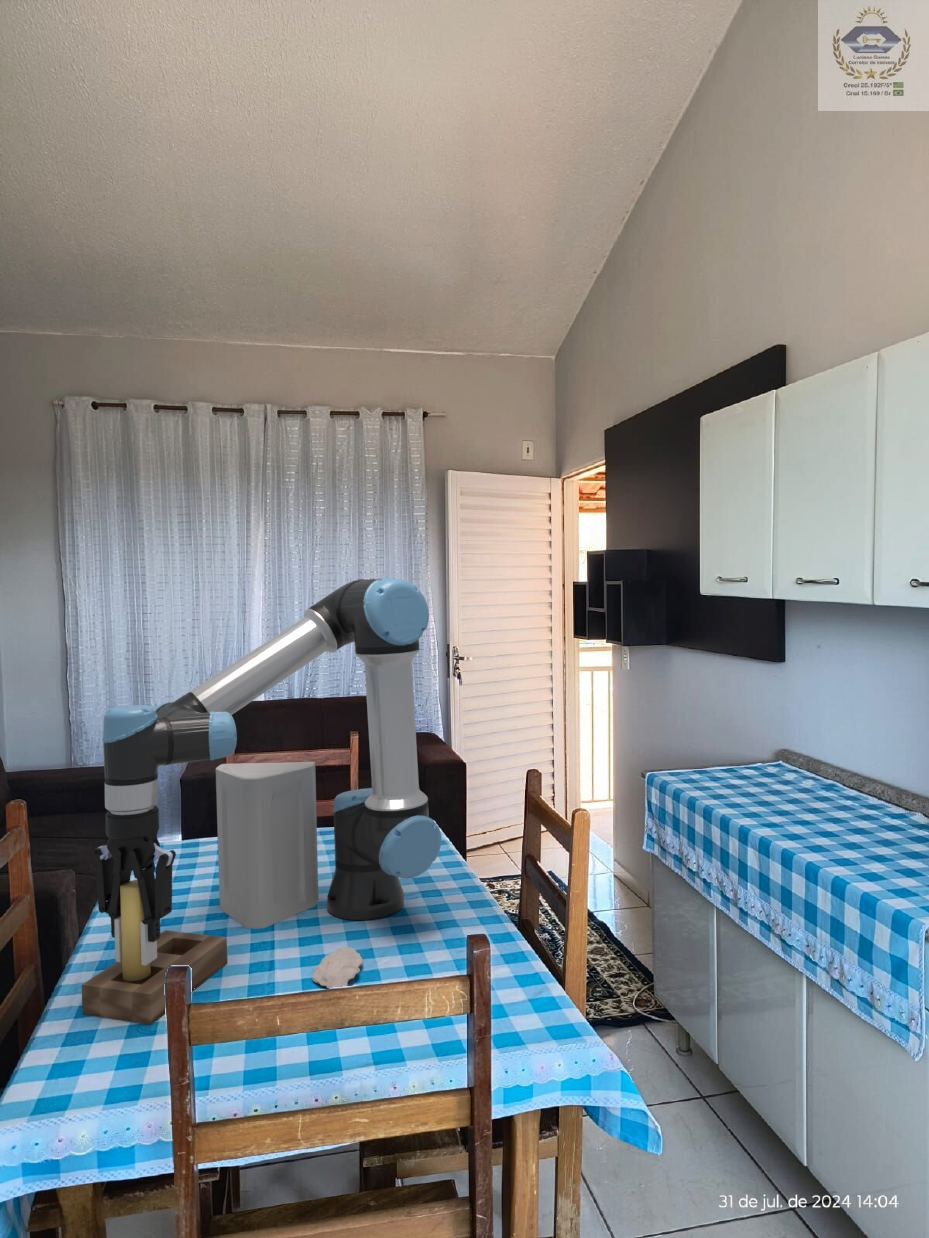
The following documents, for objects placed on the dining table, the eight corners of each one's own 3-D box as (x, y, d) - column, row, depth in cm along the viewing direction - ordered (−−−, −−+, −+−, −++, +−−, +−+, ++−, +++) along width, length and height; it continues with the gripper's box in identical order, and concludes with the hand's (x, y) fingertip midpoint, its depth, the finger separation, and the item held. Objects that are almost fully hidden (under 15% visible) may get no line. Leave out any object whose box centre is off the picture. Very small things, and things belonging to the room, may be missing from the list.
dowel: (156, 970, 126) (154, 880, 126) (139, 982, 122) (136, 890, 122) (134, 967, 127) (131, 878, 127) (116, 979, 124) (114, 887, 123)
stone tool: (363, 997, 126) (361, 960, 141) (364, 977, 126) (362, 942, 141) (310, 998, 125) (313, 961, 140) (311, 978, 125) (314, 943, 140)
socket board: (227, 963, 138) (226, 937, 138) (151, 1024, 119) (150, 994, 119) (166, 955, 141) (165, 930, 141) (82, 1014, 122) (81, 984, 122)
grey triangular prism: (203, 930, 152) (199, 780, 151) (225, 899, 167) (221, 763, 166) (306, 927, 152) (302, 778, 151) (319, 897, 167) (315, 761, 166)
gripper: (195, 805, 125) (199, 955, 126) (102, 798, 130) (106, 943, 131) (164, 818, 118) (169, 977, 119) (67, 811, 123) (72, 964, 124)
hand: (136, 959), depth 125 cm, fingers closed on dowel, 4 cm apart
